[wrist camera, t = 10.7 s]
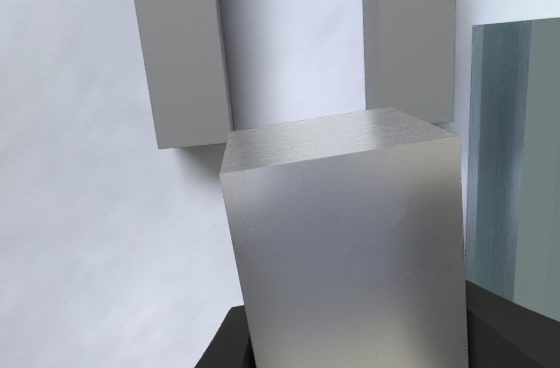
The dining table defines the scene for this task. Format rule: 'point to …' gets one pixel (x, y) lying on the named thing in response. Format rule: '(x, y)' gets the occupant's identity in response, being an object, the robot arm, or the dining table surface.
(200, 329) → the dining table surface
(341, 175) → the rectangular block
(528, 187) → the cradle
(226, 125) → the grey bars
